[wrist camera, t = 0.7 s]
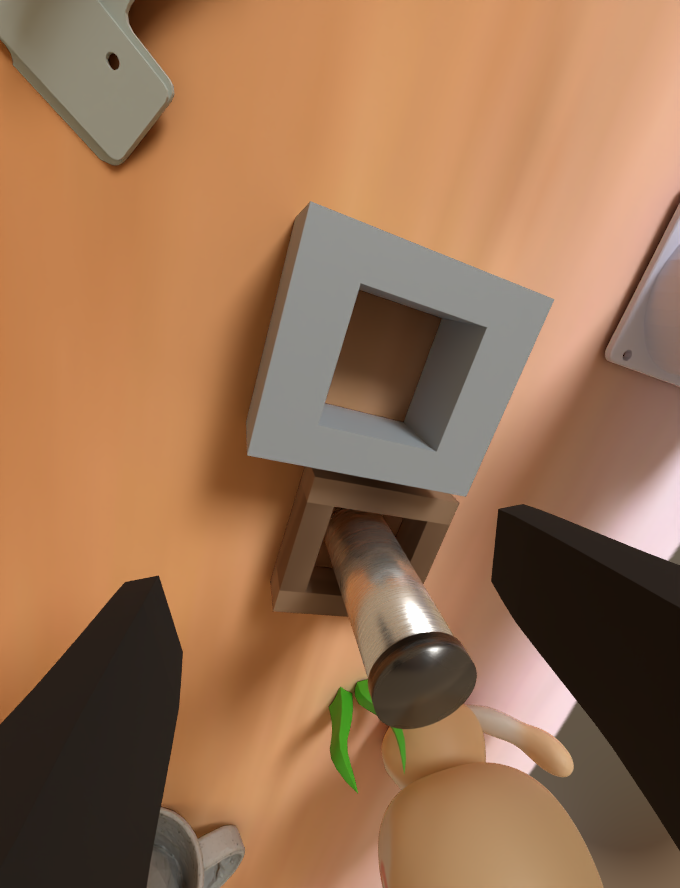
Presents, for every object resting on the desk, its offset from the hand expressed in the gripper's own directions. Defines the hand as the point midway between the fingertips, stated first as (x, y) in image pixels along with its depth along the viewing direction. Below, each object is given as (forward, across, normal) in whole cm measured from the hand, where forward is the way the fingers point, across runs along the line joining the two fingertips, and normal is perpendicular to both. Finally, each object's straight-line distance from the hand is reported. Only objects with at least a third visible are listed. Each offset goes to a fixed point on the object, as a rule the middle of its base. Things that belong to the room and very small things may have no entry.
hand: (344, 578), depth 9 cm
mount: (+10, -2, +6) cm, 12 cm away
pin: (+10, -2, +6) cm, 12 cm away
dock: (+10, -4, -2) cm, 11 cm away
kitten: (+10, -6, +22) cm, 25 cm away
